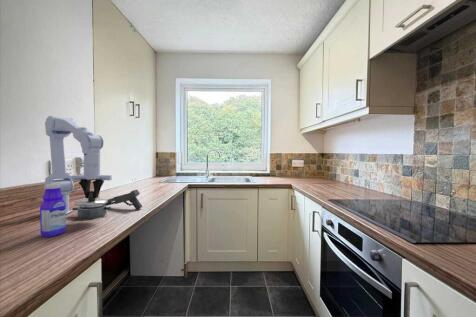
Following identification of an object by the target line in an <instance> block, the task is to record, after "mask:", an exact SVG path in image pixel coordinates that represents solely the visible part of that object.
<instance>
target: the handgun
mask: <svg viewBox="0 0 476 317" xmlns="http://www.w3.org/2000/svg"><path fill="white" fill-rule="evenodd" d="M140 194H141V193H140V191H139V190H138V189H134V190H132V191H130V192H129V193H128V192H127V193H125V194H121V195H116V196H113V197H112V198H107V200H108V203H106V204H103V205H106V207H109V206H112V205H116V204H117V205H118V204H121V203H123V204H126V205H127V206H133V207H134V208H135V210H136V211H138V210H140V209H142V207H144V206H143V205H142V203H141V202H140V201H139V199H138V196H139V195H140Z"/></svg>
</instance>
